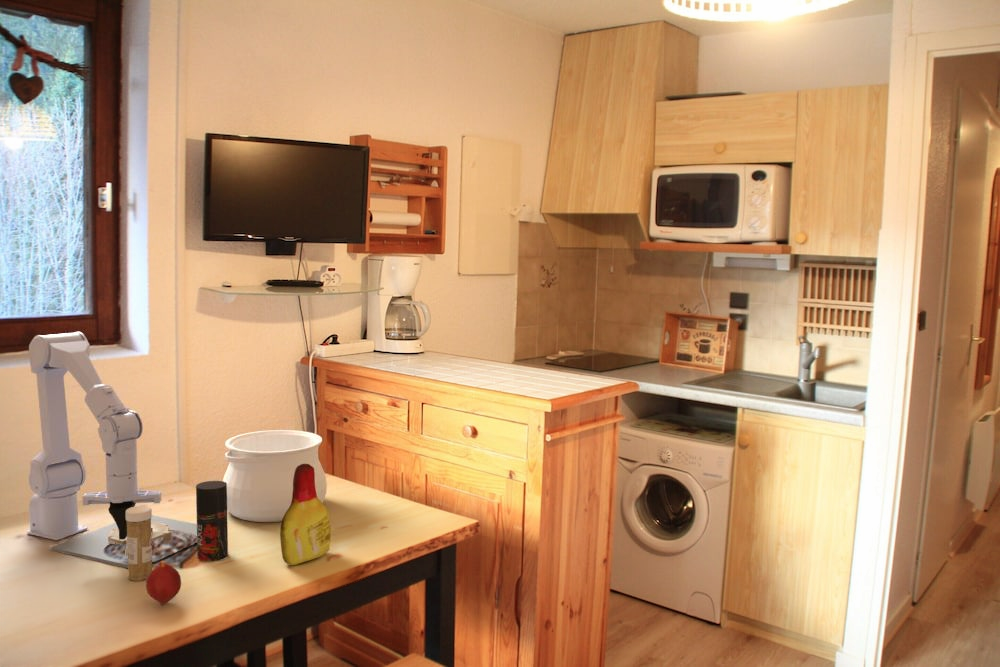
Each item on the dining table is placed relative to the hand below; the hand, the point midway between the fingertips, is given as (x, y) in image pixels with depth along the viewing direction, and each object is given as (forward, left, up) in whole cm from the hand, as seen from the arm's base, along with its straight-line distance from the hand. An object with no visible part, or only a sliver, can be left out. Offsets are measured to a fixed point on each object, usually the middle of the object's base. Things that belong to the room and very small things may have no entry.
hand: (123, 537), depth 170 cm
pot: (+8, +38, -4) cm, 39 cm away
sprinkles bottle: (+11, -6, -4) cm, 13 cm away
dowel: (+5, +7, -4) cm, 9 cm away
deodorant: (+16, +8, -4) cm, 18 cm away
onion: (+24, -13, -4) cm, 28 cm away
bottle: (+34, +15, -4) cm, 37 cm away
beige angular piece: (-2, +6, -3) cm, 7 cm away
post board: (-4, +8, -4) cm, 10 cm away
